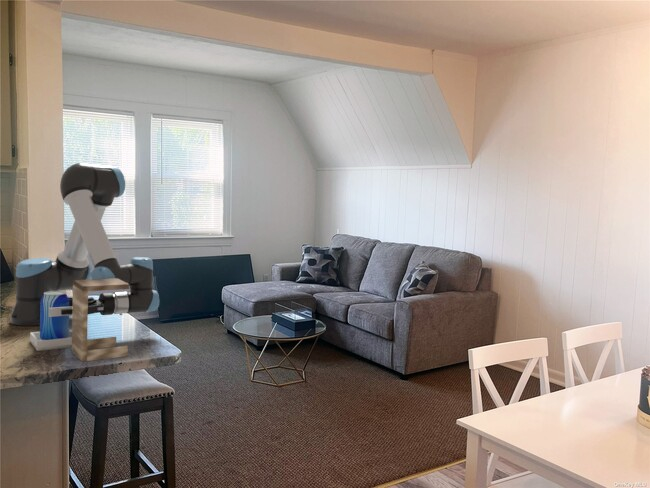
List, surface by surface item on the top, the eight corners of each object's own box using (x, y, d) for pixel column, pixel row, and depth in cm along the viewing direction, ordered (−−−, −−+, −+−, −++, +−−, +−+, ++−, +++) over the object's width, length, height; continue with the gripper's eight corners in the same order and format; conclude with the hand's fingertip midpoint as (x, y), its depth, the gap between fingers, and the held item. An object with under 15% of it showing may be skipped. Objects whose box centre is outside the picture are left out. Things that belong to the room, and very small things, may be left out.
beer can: (48, 336, 186) (49, 289, 185) (73, 338, 186) (74, 291, 184) (34, 343, 178) (35, 294, 176) (60, 345, 177) (60, 295, 176)
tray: (30, 341, 182) (30, 332, 182) (69, 337, 190) (70, 328, 190) (37, 350, 173) (37, 341, 172) (78, 346, 180) (79, 337, 180)
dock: (81, 361, 165) (83, 286, 163) (71, 350, 175) (72, 279, 173) (127, 355, 173) (129, 284, 171) (115, 345, 183) (116, 278, 181)
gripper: (123, 322, 182) (52, 328, 169) (102, 307, 201) (37, 312, 189) (124, 299, 181) (53, 303, 168) (102, 286, 201) (37, 290, 188)
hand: (44, 308), depth 178 cm, fingers open, 13 cm apart
